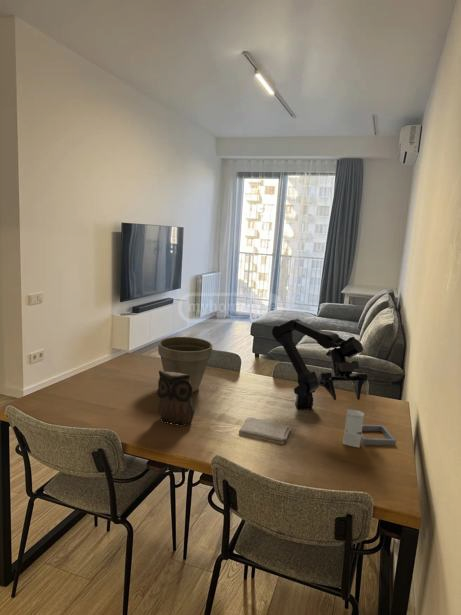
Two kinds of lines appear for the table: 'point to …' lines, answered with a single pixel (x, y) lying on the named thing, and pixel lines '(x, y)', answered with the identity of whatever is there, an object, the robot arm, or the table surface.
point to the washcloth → (265, 430)
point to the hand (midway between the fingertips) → (347, 399)
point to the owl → (175, 398)
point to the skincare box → (353, 428)
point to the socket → (376, 441)
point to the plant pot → (185, 357)
